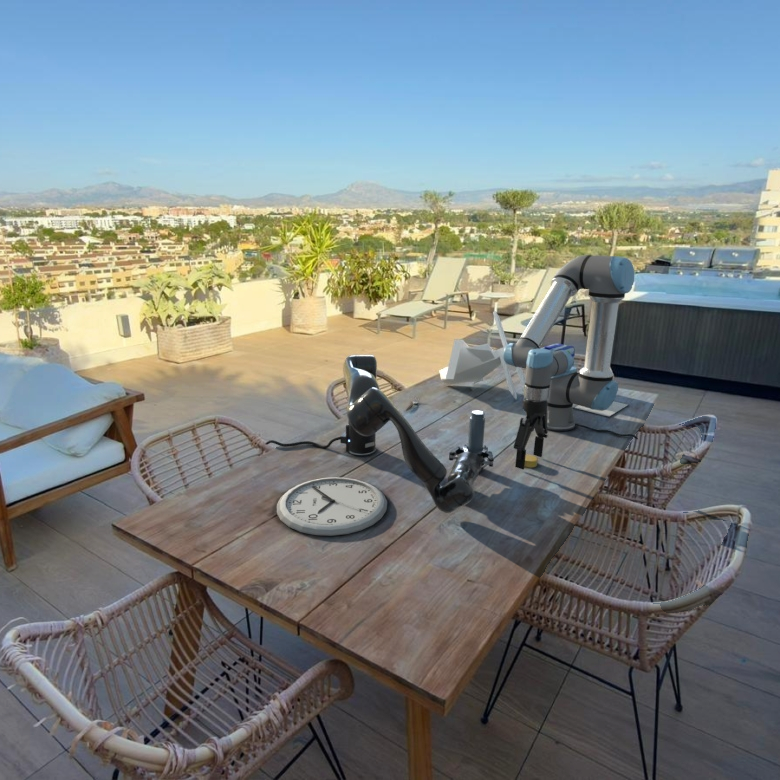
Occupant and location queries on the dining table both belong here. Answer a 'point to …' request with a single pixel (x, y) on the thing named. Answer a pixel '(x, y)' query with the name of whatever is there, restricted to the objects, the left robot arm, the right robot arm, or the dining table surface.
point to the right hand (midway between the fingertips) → (528, 461)
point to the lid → (530, 461)
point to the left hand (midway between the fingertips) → (476, 447)
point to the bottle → (476, 431)
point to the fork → (413, 403)
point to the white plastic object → (478, 362)
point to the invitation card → (608, 412)
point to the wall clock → (331, 506)
